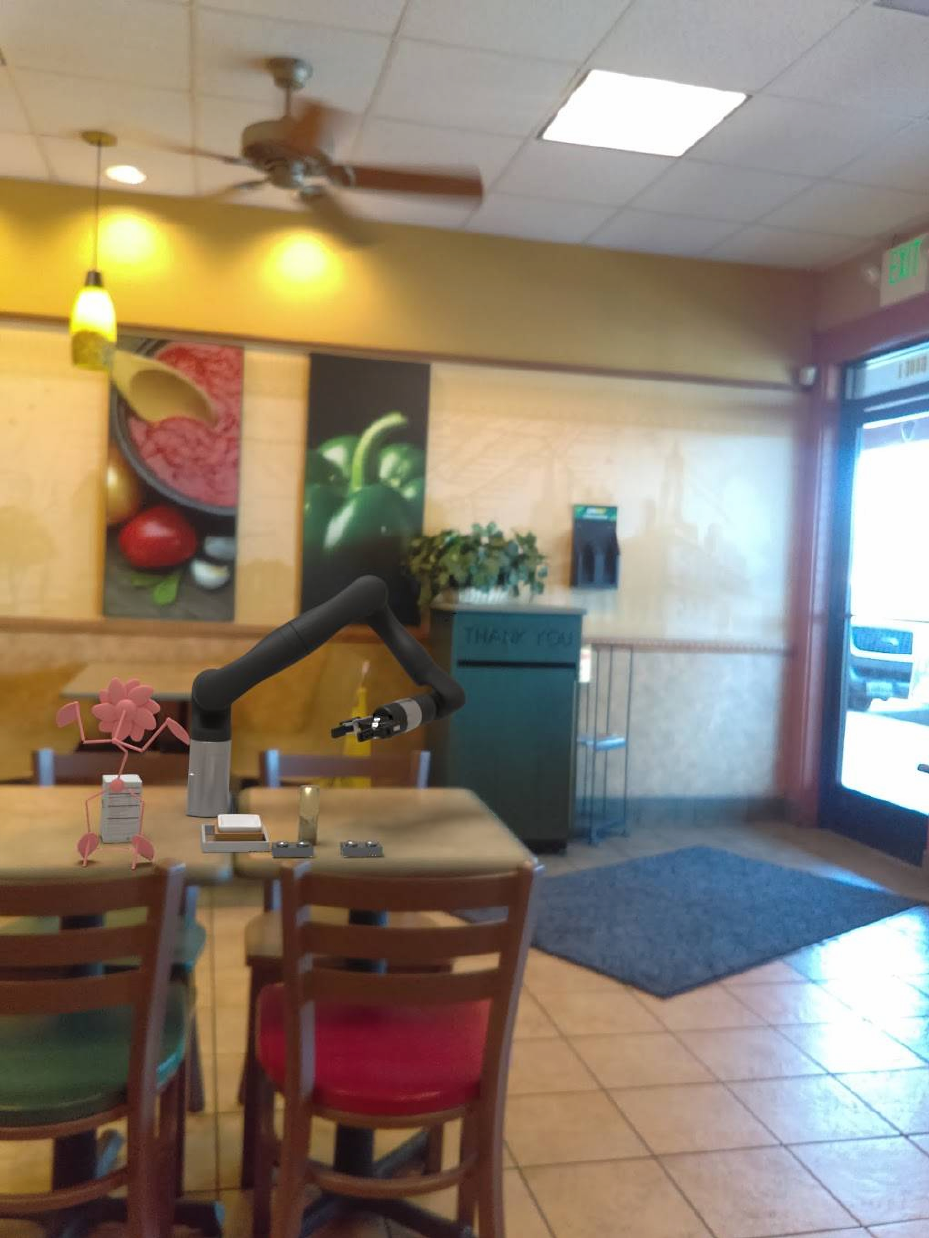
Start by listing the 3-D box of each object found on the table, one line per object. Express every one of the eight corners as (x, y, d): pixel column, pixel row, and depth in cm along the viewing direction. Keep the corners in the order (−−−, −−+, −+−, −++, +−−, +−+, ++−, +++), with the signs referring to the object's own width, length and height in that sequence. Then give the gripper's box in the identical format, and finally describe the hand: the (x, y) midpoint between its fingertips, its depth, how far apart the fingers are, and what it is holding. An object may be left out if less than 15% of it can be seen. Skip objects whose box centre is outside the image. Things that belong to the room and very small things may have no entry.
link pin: (298, 845, 222) (301, 788, 221) (296, 841, 225) (299, 784, 225) (317, 845, 223) (320, 788, 222) (315, 840, 226) (318, 785, 226)
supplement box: (99, 834, 221) (102, 774, 221) (136, 833, 224) (139, 773, 223) (102, 843, 214) (105, 781, 214) (140, 842, 217) (143, 780, 217)
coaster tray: (202, 852, 212) (202, 842, 212) (201, 833, 227) (201, 824, 227) (269, 851, 215) (269, 842, 215) (263, 833, 230) (264, 824, 230)
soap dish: (263, 851, 216) (264, 826, 216) (214, 851, 214) (215, 826, 214) (260, 836, 229) (261, 812, 228) (213, 836, 226) (214, 812, 226)
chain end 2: (342, 857, 215) (343, 844, 215) (339, 851, 219) (340, 838, 219) (382, 856, 217) (382, 844, 217) (378, 851, 221) (378, 838, 221)
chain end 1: (272, 857, 211) (273, 844, 211) (271, 852, 215) (271, 839, 215) (313, 857, 213) (313, 844, 213) (310, 851, 217) (311, 839, 217)
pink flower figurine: (177, 873, 196) (187, 684, 196) (37, 866, 196) (47, 676, 196) (197, 853, 212) (206, 678, 211) (67, 847, 211) (76, 671, 211)
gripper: (374, 699, 248) (321, 716, 236) (417, 704, 239) (365, 722, 227) (377, 730, 249) (325, 749, 237) (421, 736, 240) (369, 756, 228)
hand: (345, 735), depth 232 cm, fingers open, 8 cm apart
